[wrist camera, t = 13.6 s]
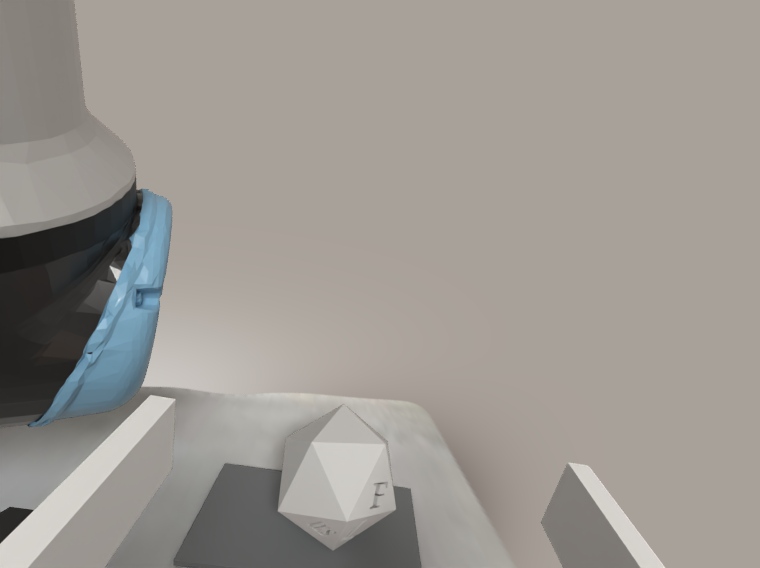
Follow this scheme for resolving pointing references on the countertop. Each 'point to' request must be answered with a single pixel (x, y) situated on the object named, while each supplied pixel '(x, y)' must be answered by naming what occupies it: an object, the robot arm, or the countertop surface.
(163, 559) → the countertop surface
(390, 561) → the mat
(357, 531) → the die
